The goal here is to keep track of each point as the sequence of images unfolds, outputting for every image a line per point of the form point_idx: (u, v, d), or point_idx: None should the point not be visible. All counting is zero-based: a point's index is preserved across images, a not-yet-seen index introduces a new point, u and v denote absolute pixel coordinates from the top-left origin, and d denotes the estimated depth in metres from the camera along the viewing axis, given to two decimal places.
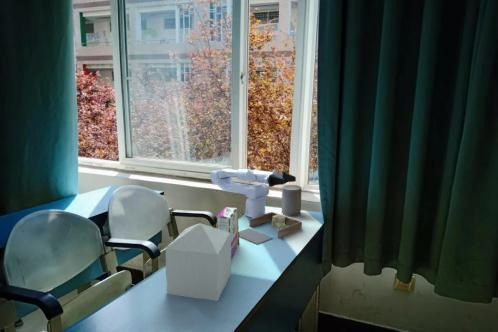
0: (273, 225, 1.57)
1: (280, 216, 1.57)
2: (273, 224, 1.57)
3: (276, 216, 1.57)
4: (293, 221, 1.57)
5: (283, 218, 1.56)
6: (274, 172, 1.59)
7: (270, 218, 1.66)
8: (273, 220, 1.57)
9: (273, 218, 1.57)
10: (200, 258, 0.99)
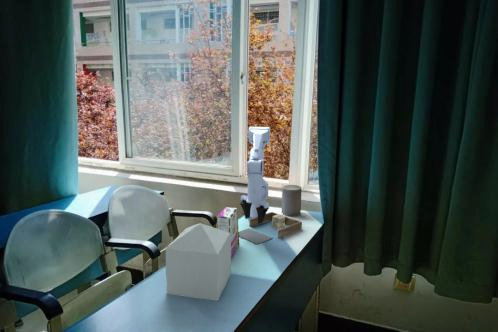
0: (273, 225, 1.57)
1: (280, 216, 1.57)
2: (273, 224, 1.57)
3: (276, 216, 1.57)
4: (293, 221, 1.57)
5: (283, 218, 1.56)
6: None
7: (270, 218, 1.66)
8: (273, 220, 1.57)
9: (273, 218, 1.57)
10: (200, 258, 0.99)
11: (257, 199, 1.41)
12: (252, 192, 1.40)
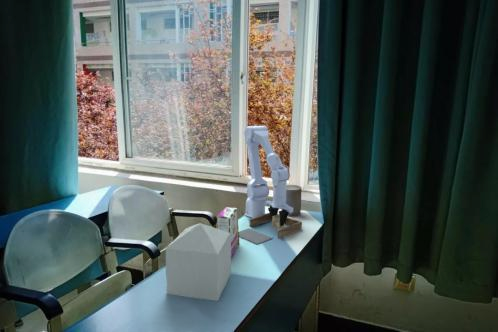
0: (273, 225, 1.57)
1: None
2: (273, 224, 1.57)
3: (276, 216, 1.57)
4: (293, 221, 1.57)
5: None
6: None
7: (270, 218, 1.66)
8: (273, 220, 1.57)
9: (273, 218, 1.57)
10: (200, 258, 0.99)
11: (282, 204, 1.53)
12: (277, 198, 1.52)
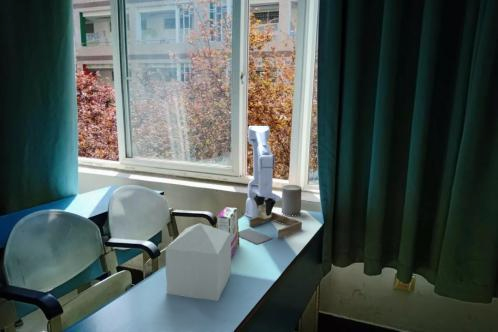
0: (259, 215, 1.49)
1: None
2: (259, 214, 1.49)
3: (262, 205, 1.49)
4: (293, 221, 1.57)
5: None
6: (259, 195, 1.46)
7: (270, 218, 1.66)
8: (259, 210, 1.49)
9: (259, 208, 1.49)
10: (200, 258, 0.99)
11: (268, 193, 1.45)
12: (263, 186, 1.44)
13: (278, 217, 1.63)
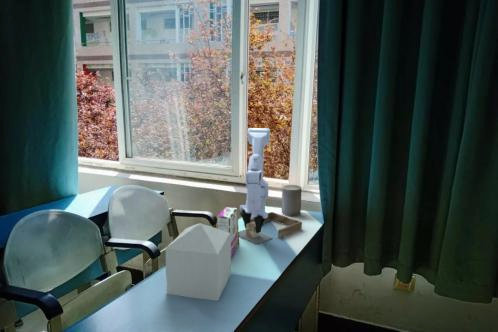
0: (247, 233, 1.46)
1: None
2: (247, 232, 1.46)
3: (250, 224, 1.45)
4: (293, 221, 1.57)
5: None
6: None
7: (270, 218, 1.66)
8: (247, 228, 1.45)
9: (247, 226, 1.45)
10: (200, 258, 0.99)
11: (256, 209, 1.41)
12: (251, 202, 1.41)
13: (278, 217, 1.63)
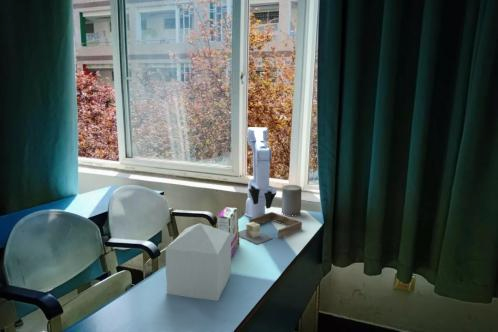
0: (247, 233, 1.46)
1: (255, 224, 1.46)
2: (247, 232, 1.46)
3: (250, 224, 1.45)
4: (293, 221, 1.57)
5: (258, 226, 1.45)
6: None
7: (270, 218, 1.66)
8: (247, 228, 1.45)
9: (247, 226, 1.45)
10: (200, 258, 0.99)
11: (265, 185, 1.49)
12: (260, 178, 1.49)
13: (278, 217, 1.63)
